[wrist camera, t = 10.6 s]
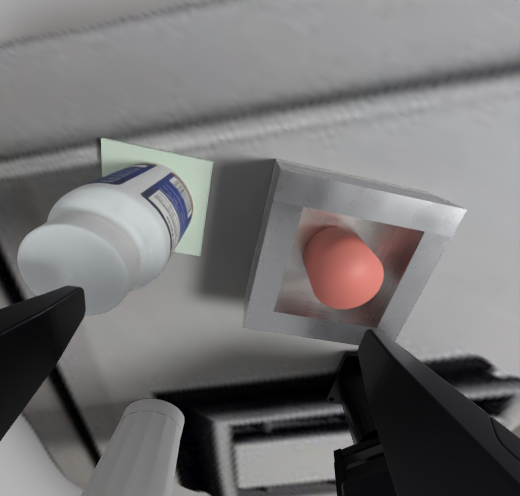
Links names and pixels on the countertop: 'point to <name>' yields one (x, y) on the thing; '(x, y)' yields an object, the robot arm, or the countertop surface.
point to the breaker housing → (366, 227)
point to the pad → (187, 167)
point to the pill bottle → (109, 235)
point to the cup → (140, 452)
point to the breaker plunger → (342, 268)
